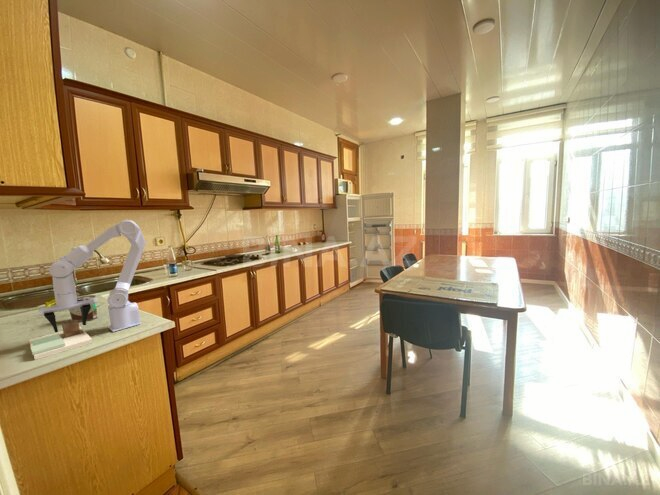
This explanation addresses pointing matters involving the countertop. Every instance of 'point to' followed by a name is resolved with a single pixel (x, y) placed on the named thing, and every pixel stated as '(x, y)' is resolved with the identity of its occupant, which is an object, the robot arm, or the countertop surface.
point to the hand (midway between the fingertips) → (70, 328)
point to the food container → (76, 312)
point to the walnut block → (71, 328)
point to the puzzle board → (69, 343)
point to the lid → (46, 344)
